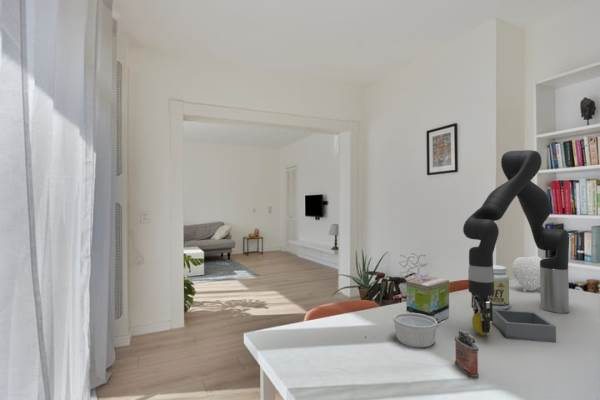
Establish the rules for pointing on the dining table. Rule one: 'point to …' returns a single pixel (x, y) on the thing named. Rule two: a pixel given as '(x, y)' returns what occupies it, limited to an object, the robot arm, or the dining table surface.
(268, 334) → the dining table surface
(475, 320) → the lemon
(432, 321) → the ramekin
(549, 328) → the bin
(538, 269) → the white textured ornament
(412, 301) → the tea box
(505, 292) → the supplement tub
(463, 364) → the lighter
